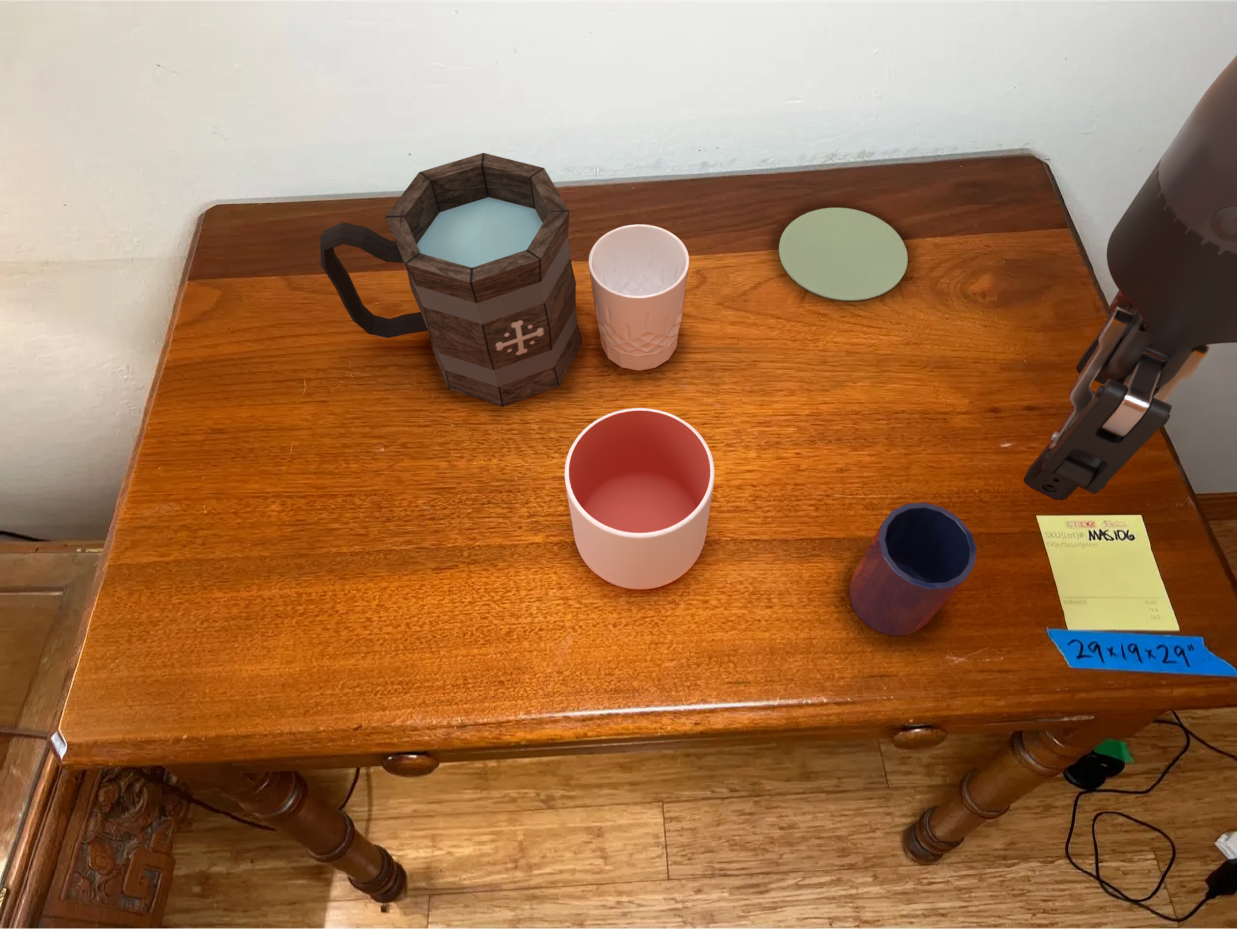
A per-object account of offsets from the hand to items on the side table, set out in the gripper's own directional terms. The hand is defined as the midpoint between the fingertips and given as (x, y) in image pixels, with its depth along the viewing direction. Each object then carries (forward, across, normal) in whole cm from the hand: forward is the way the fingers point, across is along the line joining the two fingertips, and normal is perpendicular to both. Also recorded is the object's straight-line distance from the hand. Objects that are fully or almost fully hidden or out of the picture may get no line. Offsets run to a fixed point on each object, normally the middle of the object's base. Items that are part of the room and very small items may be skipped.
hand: (1070, 428), depth 44 cm
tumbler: (+19, -4, +3) cm, 20 cm away
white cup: (+20, +6, +31) cm, 38 cm away
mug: (+20, -2, +44) cm, 48 cm away
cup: (+20, -10, +21) cm, 31 cm away
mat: (+20, +25, +21) cm, 38 cm away
